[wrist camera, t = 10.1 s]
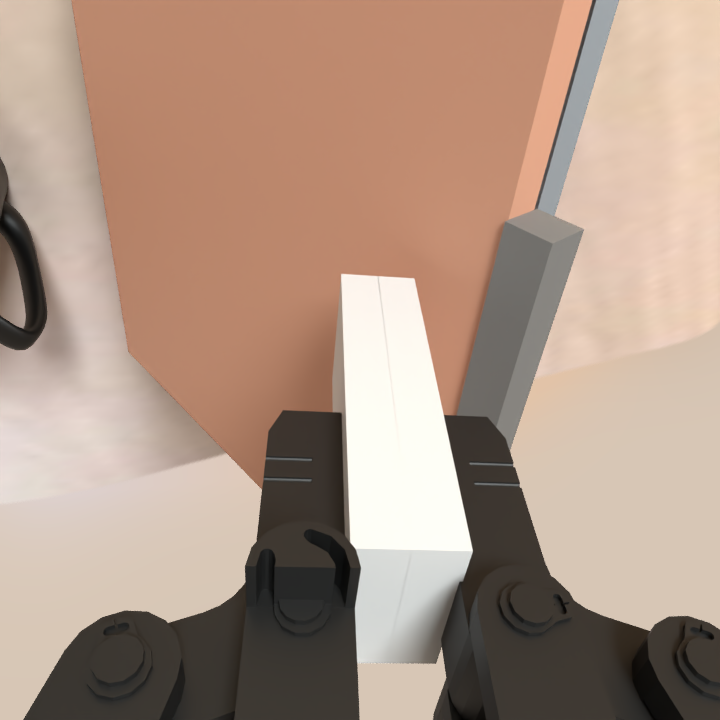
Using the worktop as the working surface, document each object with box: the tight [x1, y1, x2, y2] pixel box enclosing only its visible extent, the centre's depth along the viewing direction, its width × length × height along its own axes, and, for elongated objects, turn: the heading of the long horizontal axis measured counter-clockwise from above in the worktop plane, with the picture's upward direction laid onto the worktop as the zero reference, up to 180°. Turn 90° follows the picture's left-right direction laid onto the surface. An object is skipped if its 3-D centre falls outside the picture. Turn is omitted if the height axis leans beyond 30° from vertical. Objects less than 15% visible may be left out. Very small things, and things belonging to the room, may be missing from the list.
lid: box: [72, 0, 592, 489], centre depth 18 cm, size 19×22×1 cm
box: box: [534, 0, 619, 216], centre depth 28 cm, size 18×22×9 cm
